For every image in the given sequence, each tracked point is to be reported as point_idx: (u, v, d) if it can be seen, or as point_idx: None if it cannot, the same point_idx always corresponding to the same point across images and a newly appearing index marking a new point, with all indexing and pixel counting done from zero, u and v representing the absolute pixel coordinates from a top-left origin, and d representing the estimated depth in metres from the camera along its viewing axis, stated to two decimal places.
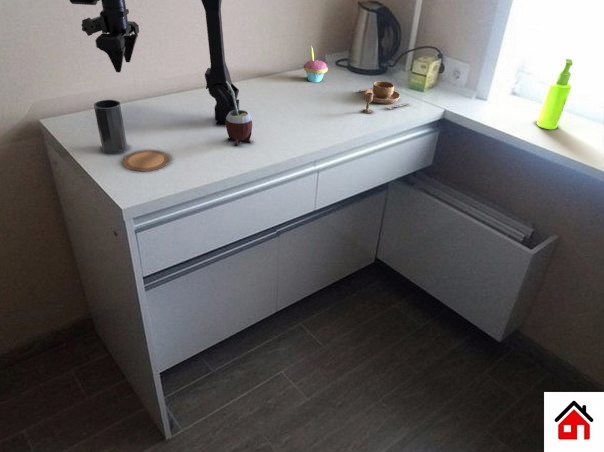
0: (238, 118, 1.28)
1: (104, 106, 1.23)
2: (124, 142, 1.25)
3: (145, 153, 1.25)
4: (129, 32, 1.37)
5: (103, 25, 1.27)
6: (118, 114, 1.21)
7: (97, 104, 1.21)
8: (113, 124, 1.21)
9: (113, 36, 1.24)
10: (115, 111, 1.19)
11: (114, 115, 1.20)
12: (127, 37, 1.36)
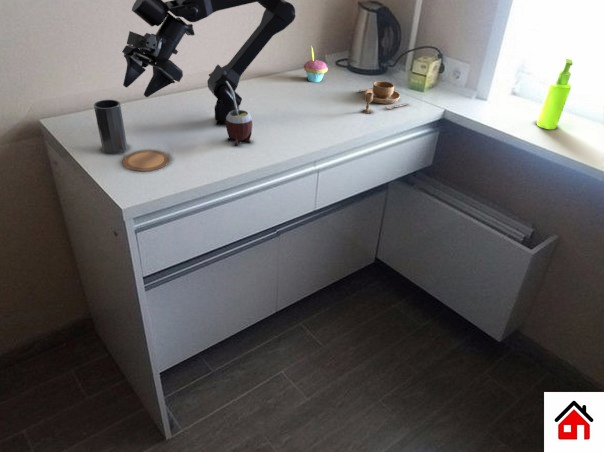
0: (238, 118, 1.28)
1: (104, 106, 1.23)
2: (124, 142, 1.25)
3: (145, 153, 1.25)
4: None
5: (158, 49, 1.21)
6: (118, 114, 1.21)
7: (97, 104, 1.21)
8: (113, 124, 1.21)
9: None
10: (115, 111, 1.19)
11: (114, 115, 1.20)
12: (139, 65, 1.28)
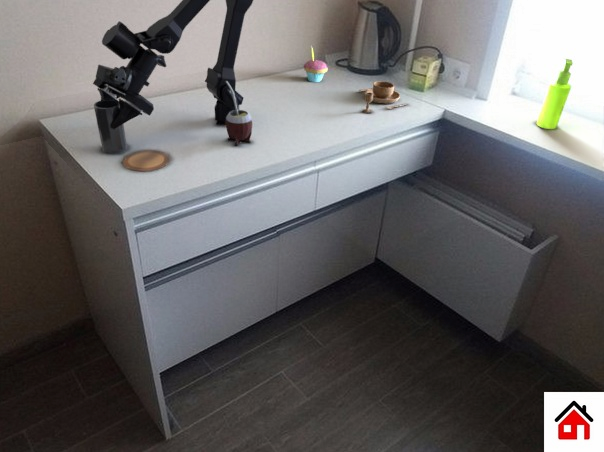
0: (238, 118, 1.28)
1: (104, 106, 1.23)
2: (124, 142, 1.25)
3: (145, 153, 1.25)
4: None
5: (128, 82, 1.19)
6: None
7: (97, 104, 1.21)
8: None
9: (148, 101, 1.19)
10: (115, 111, 1.19)
11: (114, 115, 1.20)
12: (113, 99, 1.25)
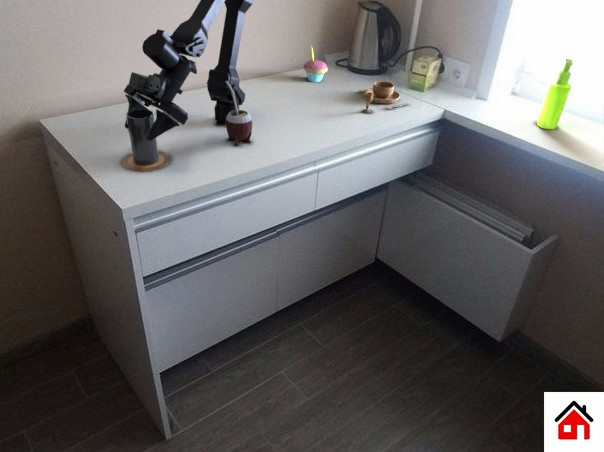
0: (238, 118, 1.28)
1: (136, 116, 1.18)
2: (156, 153, 1.21)
3: None
4: None
5: (162, 91, 1.14)
6: (151, 124, 1.16)
7: (129, 114, 1.16)
8: (146, 134, 1.16)
9: None
10: (148, 121, 1.15)
11: (147, 125, 1.15)
12: (141, 105, 1.21)
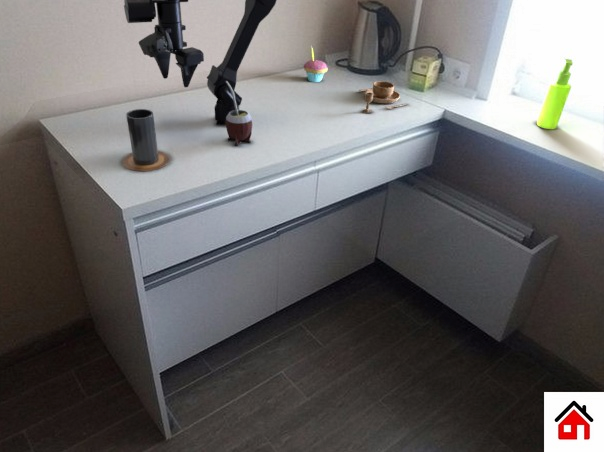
0: (238, 118, 1.28)
1: (136, 116, 1.18)
2: (156, 153, 1.21)
3: None
4: None
5: (170, 42, 1.23)
6: (151, 124, 1.16)
7: (129, 114, 1.16)
8: (146, 134, 1.16)
9: (195, 49, 1.23)
10: (148, 121, 1.15)
11: (147, 125, 1.15)
12: (164, 52, 1.32)
